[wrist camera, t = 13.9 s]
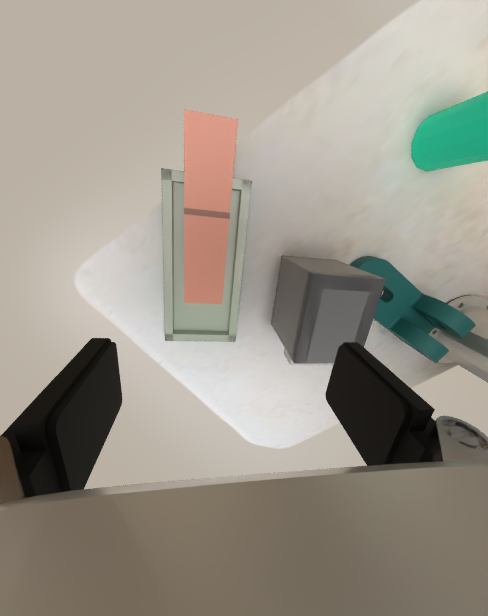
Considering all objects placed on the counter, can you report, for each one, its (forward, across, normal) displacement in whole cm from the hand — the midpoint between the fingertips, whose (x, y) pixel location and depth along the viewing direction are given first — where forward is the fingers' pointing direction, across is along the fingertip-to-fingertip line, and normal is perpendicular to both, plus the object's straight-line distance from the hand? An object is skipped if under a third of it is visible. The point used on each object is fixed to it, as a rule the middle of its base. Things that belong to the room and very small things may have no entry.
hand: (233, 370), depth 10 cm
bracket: (+23, -26, +4) cm, 35 cm away
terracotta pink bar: (+21, +2, -6) cm, 21 cm away
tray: (+22, +2, 0) cm, 22 cm away
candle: (+23, -26, -16) cm, 38 cm away
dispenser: (+22, -12, +3) cm, 26 cm away
